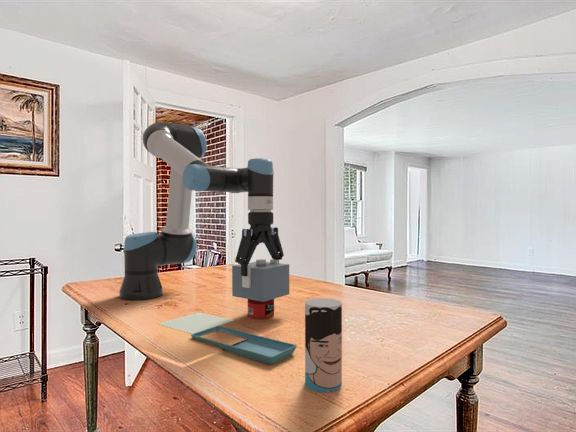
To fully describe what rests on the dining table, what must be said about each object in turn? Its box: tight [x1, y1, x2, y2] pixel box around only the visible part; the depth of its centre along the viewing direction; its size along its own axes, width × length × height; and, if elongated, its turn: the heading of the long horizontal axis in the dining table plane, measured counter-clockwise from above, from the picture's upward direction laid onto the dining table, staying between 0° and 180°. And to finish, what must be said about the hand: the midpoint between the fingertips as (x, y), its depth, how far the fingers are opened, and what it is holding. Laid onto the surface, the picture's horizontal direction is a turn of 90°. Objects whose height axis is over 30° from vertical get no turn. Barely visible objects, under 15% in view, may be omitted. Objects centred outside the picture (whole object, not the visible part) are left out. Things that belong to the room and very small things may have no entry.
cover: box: [231, 258, 290, 302], centre depth 116 cm, size 12×12×10 cm
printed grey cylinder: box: [304, 297, 343, 393], centre depth 72 cm, size 7×7×15 cm
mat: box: [157, 311, 236, 335], centre depth 109 cm, size 15×15×1 cm
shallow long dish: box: [190, 325, 298, 365], centre depth 91 cm, size 26×9×2 cm, turn 52°
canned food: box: [247, 299, 275, 320], centre depth 116 cm, size 8×8×11 cm
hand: (261, 284), depth 116 cm, fingers closed on cover, 12 cm apart
